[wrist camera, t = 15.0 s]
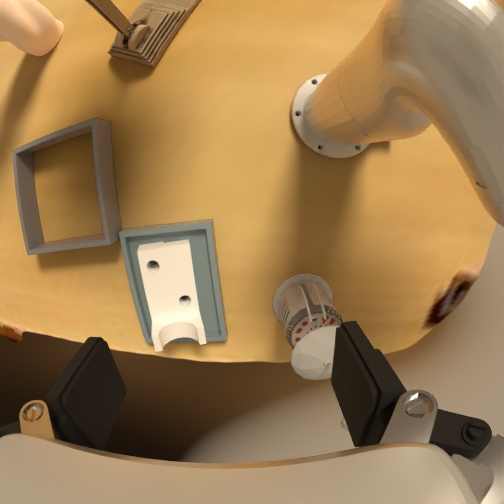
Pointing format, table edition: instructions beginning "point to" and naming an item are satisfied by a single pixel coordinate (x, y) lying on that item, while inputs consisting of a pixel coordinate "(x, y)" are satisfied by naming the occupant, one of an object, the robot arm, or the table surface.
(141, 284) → the tray
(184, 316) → the bracket
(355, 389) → the robot arm
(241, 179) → the table surface
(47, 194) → the table surface
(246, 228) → the table surface
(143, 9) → the banker's lamp
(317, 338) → the french press
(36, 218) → the bin
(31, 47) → the water bottle
